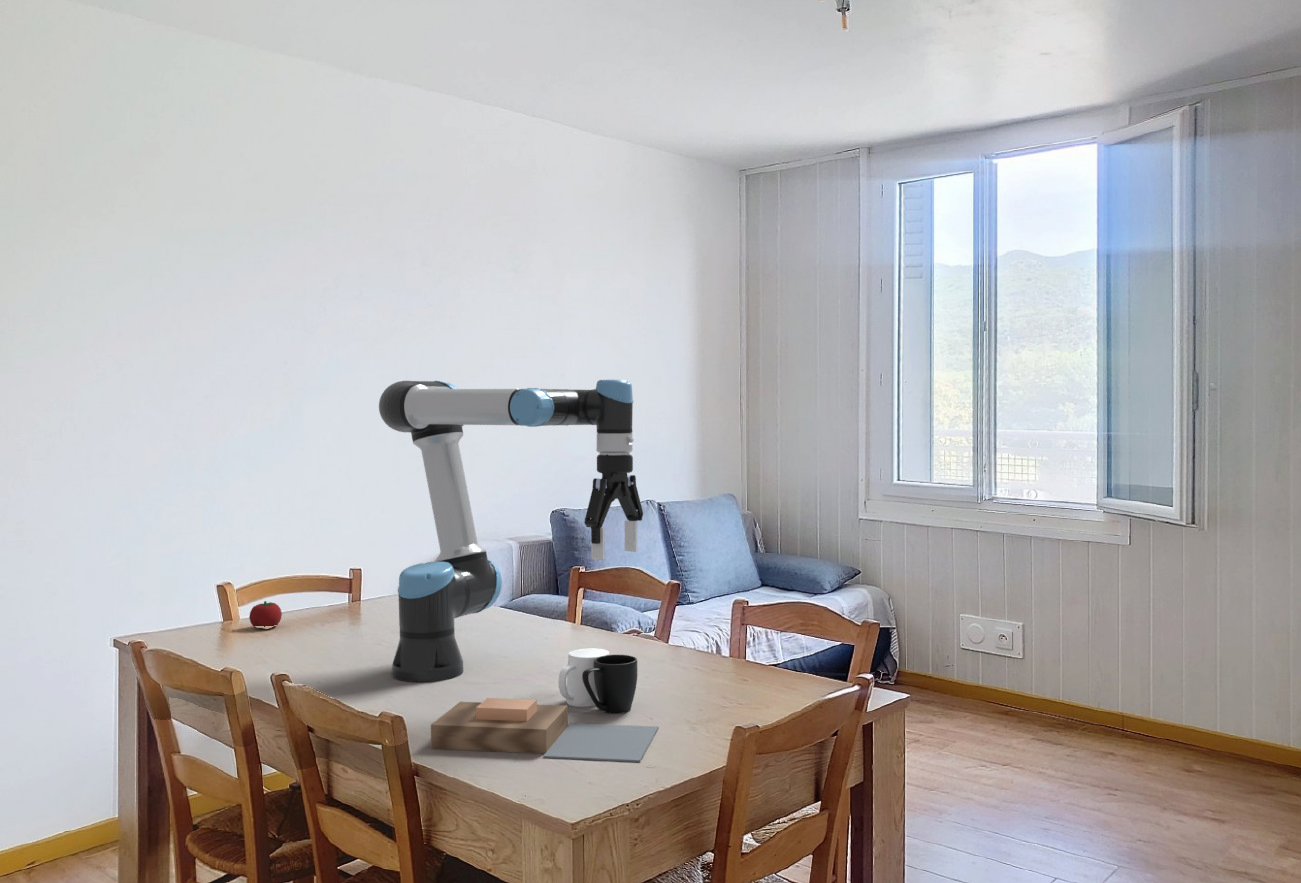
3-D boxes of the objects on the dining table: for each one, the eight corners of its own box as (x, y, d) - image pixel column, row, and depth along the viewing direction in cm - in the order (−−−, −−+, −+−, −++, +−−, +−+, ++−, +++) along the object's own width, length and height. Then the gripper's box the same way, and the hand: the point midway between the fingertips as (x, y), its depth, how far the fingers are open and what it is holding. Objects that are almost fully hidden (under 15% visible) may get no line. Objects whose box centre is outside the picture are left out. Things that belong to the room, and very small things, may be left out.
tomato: (275, 631, 271) (274, 603, 271) (245, 631, 272) (244, 604, 271) (286, 624, 279) (286, 598, 279) (257, 625, 280) (256, 598, 279)
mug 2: (569, 713, 193) (569, 663, 193) (618, 701, 201) (617, 652, 201) (598, 723, 187) (597, 670, 187) (646, 709, 195) (646, 659, 195)
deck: (431, 748, 174) (430, 724, 174) (460, 723, 188) (460, 701, 187) (546, 753, 170) (546, 729, 170) (567, 728, 184) (567, 705, 184)
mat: (543, 757, 168) (543, 755, 168) (570, 724, 186) (570, 723, 186) (640, 762, 166) (640, 760, 166) (658, 728, 183) (658, 726, 183)
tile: (475, 719, 176) (475, 707, 176) (487, 709, 182) (487, 698, 182) (526, 721, 175) (526, 709, 175) (536, 711, 181) (536, 699, 181)
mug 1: (593, 645, 208) (620, 651, 202) (594, 692, 208) (621, 699, 202) (547, 656, 199) (574, 662, 194) (547, 704, 200) (574, 712, 194)
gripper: (599, 456, 203) (599, 564, 204) (658, 451, 225) (658, 549, 226) (566, 455, 207) (567, 561, 207) (628, 451, 229) (628, 546, 229)
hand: (615, 555), depth 216 cm, fingers open, 13 cm apart
